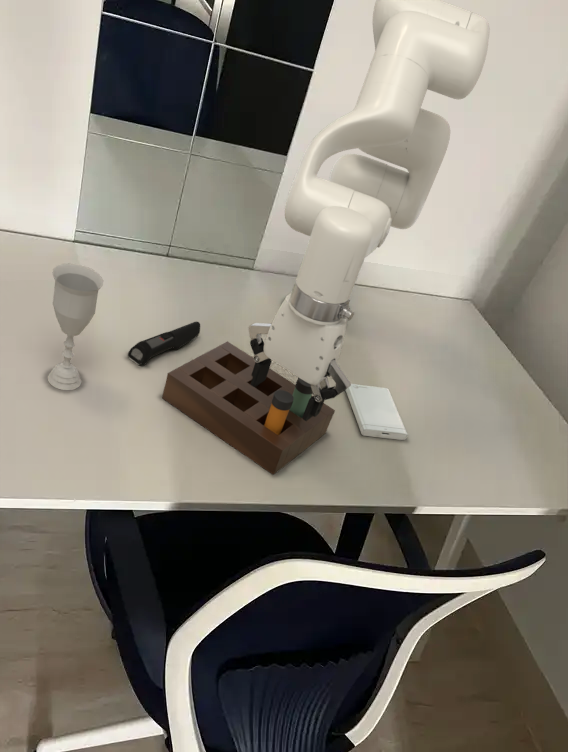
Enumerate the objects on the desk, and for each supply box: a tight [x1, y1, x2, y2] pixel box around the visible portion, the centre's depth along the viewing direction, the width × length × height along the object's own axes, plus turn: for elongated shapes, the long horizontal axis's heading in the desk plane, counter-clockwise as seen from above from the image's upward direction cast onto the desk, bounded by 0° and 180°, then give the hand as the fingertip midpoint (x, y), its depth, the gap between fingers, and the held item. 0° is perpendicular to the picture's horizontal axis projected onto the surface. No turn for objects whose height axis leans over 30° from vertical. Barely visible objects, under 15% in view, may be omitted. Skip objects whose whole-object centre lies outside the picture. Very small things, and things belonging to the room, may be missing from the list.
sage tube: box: [289, 377, 313, 418], centre depth 124 cm, size 3×3×10 cm
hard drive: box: [345, 383, 409, 441], centre depth 137 cm, size 2×8×12 cm
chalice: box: [47, 262, 104, 391], centre depth 116 cm, size 7×7×18 cm
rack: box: [161, 340, 336, 475], centre depth 126 cm, size 16×22×5 cm
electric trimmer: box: [127, 321, 201, 366], centre depth 134 cm, size 4×16×3 cm, turn 142°
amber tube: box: [264, 390, 294, 435], centre depth 120 cm, size 3×3×10 cm
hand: (283, 399), depth 117 cm, fingers open, 9 cm apart
